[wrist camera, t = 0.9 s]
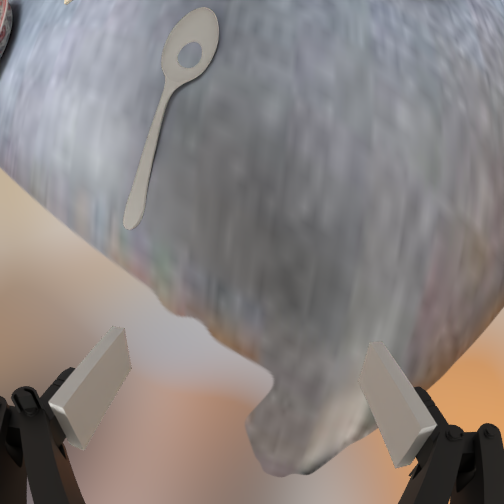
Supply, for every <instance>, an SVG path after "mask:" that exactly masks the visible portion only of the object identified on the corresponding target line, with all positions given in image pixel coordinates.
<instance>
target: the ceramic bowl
mask: <svg viewBox="0 0 504 504" xmlns="http://www.w3.org/2000/svg"><path fill="white" fill-rule="evenodd" d="M12 20H13V16H12V9H11V6H10V4H9V3H8V0H0V58H1V56H2V54H3V52H4V50H5V47H6V45H7V42H8V39H9V36H10V32H11V28H12Z"/></svg>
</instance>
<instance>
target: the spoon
mask: <svg viewBox="0 0 504 504" xmlns="http://www.w3.org/2000/svg"><path fill="white" fill-rule="evenodd" d="M218 39H219V26H218V20H217V17H216V15H215V13H214V12H213V11H212V10H211V9H209V8H205V7H202V8H197V9H195V10H193V11H191V12H190V13H188V14H187V15H186V16H184V17H183V18H182V19H181V20H180V21H179V22H178V23H177V24H176V26H175V27H174V28H173V29H172V31H171V33H170V34H169V36H168V38H167V40H166V43H165V46H164V49H163V53H162V58H161V66H162V70H163V73H164V75H165V86H164V90H163V93H162V96H161V99H160V102H159V105H158V108H157V111H156V114H155V116H154V119H153V122H152V125H151V128H150V131H149V134H148V137H147V140H146V143H145V146H144V149H143V153H142V156H141V159H140V163H139V166H138V169H137V173H136V176H135V179H134V183H133V186H132V189H131V192H130V195H129V198H128V201H127V204H126V208H125V212H124V218H123V225H124V227H125V228H126V229H128V230H131V229H133V228H135V227H137V226H138V225H139V223H140V221H141V219H142V217H143V214H144V210H145V204H146V196H147V189H148V183H149V178H150V173H151V168H152V163H153V159H154V154H155V150H156V146H157V141H158V137H159V133H160V128H161V124H162V120H163V116H164V113H165V110H166V106H167V104H168V101H169V99H170V97H171V95H172V94H173V92H174V91H175V90H176V89H177V88H178V87H179V86H181V85H182V84H184V83H186V82H188V81H191V80H193V79H195V78H197V77H198V76H199V75H201V74H202V73H203V72H204V71H205V69H206V68H207V67H208V65H209V64H210V62H211V60H212V58H213V56H214V54H215V51H216V48H217V45H218ZM190 42H197V43H199V44H200V45H201V48H202V57H201V60H200V62H199V63H198V64H197V65H196V66H194V67H192V68H184V67H182V66H181V65H180V64H179V62H178V59H177V58H178V54H179V52H180V50H181V49H182V48H183V47H184V46H185V45H186V44H188V43H190Z"/></svg>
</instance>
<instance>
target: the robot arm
mask: <svg viewBox="0 0 504 504" xmlns="http://www.w3.org/2000/svg"><path fill="white" fill-rule="evenodd" d="M131 369H132V367H131V362H130V357H129V351H128V346H127V340H126V334H125V328H120V327H115V326H112V327H111V328H110V330H109V331H108V332H107V333H106V334H105V335H104V336H103V338H102V339H101V340H100V341H99V342H98V343H97V344H96V345H95V347H94V348H93V349H92V350H91V351H90V352H89V354H88V355H87V356H86V357H85V359H83V361H82V362H81V363H80V364H79V365H78V367H77V368H76V369H75V368H71V367H70V368H69V369H67V370H65V371H63V372H62V373H61V374H60V375H59V376H58V378H57V380H55V381H54V382H53V384H52V385H51V386H50V387H49V388H48V389H47V390H46V391H45V393H44V394H43V395H42V396H41V397H40V398H39V396H38V394H37V392H36V390H35V389H34V388H32V387H29V386H24V387H20V388H18V389H16V390H15V391H14V392H13V394H12V397H11V399H12V401H13V403H14V405H15V407H14V406H9V405H8V404H7V402H6V400H5V398H3V397H1V396H0V504H27V499H26V497H27V495H26V493H27V492H26V491H27V477H28V481H29V485H30V490H31V493H32V497H33V501H34V504H85V502H84V499H83V497H82V495H81V492H80V489H79V487H78V484H77V481H76V479H75V476H74V473H73V471H72V467H71V464H70V461H69V458H68V455H67V452H66V448H65V446H64V444H63V441H64V439H65V438H67V440H68V441H69V443H70V445H72V446H74V447H77V448H79V449H82V450H85V448H86V447H87V445H88V443H89V441H90V439H91V438H92V436H93V434H94V432H95V430H96V429H97V427H98V425H99V423H100V422H101V420H102V418H103V416H104V415H105V413H106V411H107V409H108V408H109V406H110V404H111V402H112V401H113V399H114V397H115V396H116V394H117V392H118V391H119V389H120V387H121V386H122V384H123V382H124V381H125V379H126V377H127V376H128V374H129V372H130V371H131ZM358 382H359V384H360V387H361V389H362V391H363V393H364V395H365V398H366V400H367V402H368V404H369V407H370V409H371V411H372V414H373V416H374V418H375V421H376V423H377V425H378V428H379V430H380V432H381V434H382V437H383V439H384V442H385V444H386V446H387V449H388V451H389V454H390V456H391V459H392V461H393V464H394V466H395V468H399V467H403V466H407V465H410V464H411V463H412V461H413V460H414V459H415V457H416V458H417V460H418V464H417V465H416V466H415V468H414V469H413V470H412V472H411V473H410V474H409V476H411V475H412V476H411V478H410V480H409V482H408V485H407V487H406V489H405V491H404V493H403V495H402V497H401V499H400V501H399V503H398V504H448V502H449V499H450V504H504V448H503V443H502V438H501V433H500V431H499V429H498V428H497V427H496V426H494V425H493V424H489V423H486V424H483V425H482V426H480V428H479V429H478V431H477V432H464V431H463V430H462V429H461V428H460V427H458V426H456V425H449V424H448V423H447V421H446V420H445V418H444V417H443V415H442V414H441V412H440V411H439V409H438V408H437V406H435V403H434V402H433V400H432V399H431V397H430V396H429V394H428V393H427V392H426V391H425V390H423V389H422V388H421V387H413V386H412V385H411V383H410V382H409V380H408V379H407V377H406V376H405V374H404V373H403V371H402V370H401V368H400V367H399V365H398V364H397V362H396V361H395V359H394V358H393V357H392V355H391V354H390V352H389V351H388V349H387V348H386V346H385V345H384V344H383V342H370V343H369V347H368V350H367V354H366V357H365V361H364V364H363V367H362V371H361V374H360V377H359V380H358ZM450 496H451V497H450Z"/></svg>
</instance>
